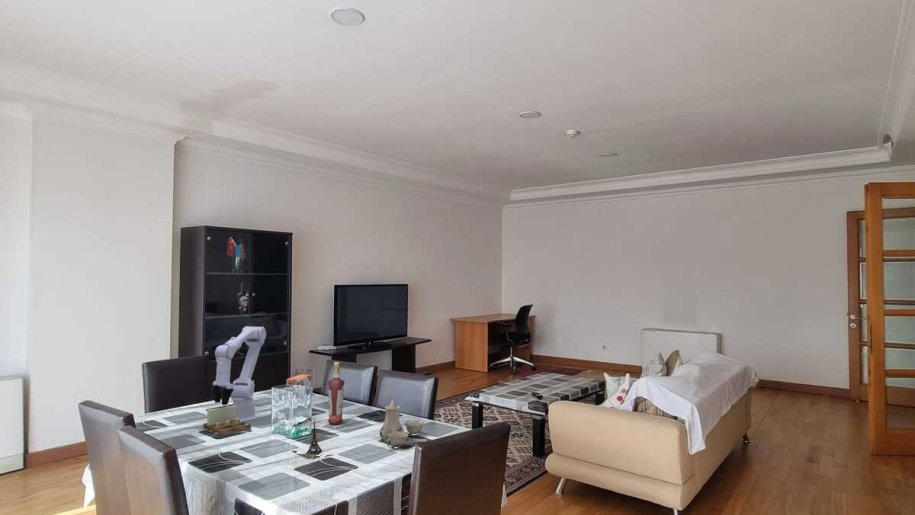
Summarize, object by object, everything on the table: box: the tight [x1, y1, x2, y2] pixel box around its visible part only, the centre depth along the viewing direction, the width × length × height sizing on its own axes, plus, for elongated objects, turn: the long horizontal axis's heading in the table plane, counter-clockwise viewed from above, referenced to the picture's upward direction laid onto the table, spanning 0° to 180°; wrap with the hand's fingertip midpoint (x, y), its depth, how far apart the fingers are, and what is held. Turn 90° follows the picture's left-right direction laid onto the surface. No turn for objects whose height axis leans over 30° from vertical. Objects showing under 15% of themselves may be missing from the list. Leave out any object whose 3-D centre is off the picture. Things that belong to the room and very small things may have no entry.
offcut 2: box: [226, 418, 239, 425], centre depth 235 cm, size 5×2×3 cm, turn 137°
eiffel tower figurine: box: [292, 420, 323, 460], centre depth 203 cm, size 15×10×13 cm
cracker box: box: [285, 373, 313, 388], centre depth 247 cm, size 14×6×21 cm, turn 168°
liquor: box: [327, 361, 345, 425], centre depth 246 cm, size 7×7×28 cm
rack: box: [202, 420, 252, 437], centre depth 232 cm, size 14×16×3 cm
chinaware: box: [378, 400, 425, 448], centre depth 221 cm, size 28×17×17 cm, turn 168°
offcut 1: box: [216, 421, 229, 427], centre depth 230 cm, size 5×2×3 cm, turn 137°
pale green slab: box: [206, 405, 237, 425], centre depth 235 cm, size 12×2×8 cm, turn 137°
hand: (221, 403), depth 235 cm, fingers open, 7 cm apart
